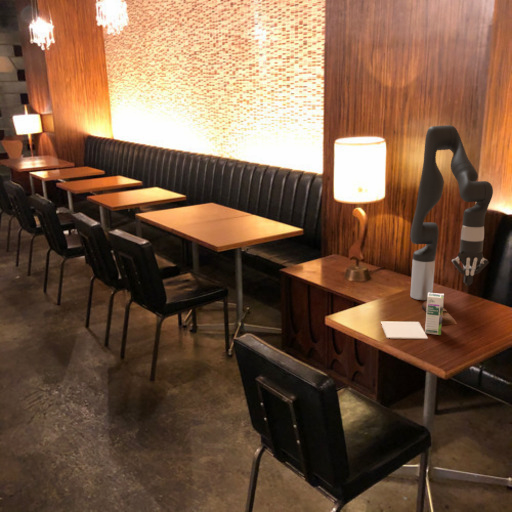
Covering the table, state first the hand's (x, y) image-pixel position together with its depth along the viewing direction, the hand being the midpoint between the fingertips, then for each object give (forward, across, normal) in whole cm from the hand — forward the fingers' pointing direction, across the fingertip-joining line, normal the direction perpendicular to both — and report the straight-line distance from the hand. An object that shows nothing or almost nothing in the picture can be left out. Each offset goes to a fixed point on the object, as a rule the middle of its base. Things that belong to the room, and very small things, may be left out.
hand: (467, 284), depth 195 cm
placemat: (+18, +22, -1) cm, 29 cm away
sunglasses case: (+19, +5, -16) cm, 25 cm away
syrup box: (+19, +11, 0) cm, 22 cm away
